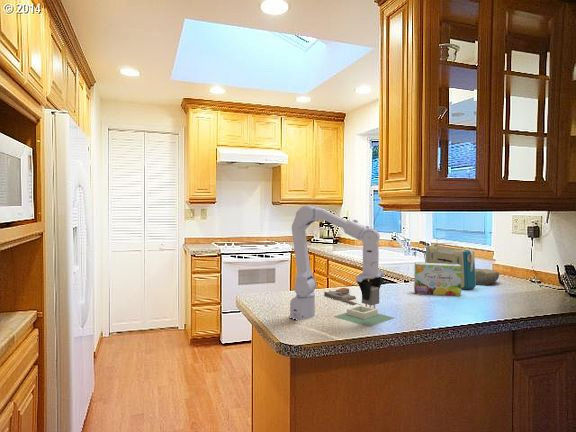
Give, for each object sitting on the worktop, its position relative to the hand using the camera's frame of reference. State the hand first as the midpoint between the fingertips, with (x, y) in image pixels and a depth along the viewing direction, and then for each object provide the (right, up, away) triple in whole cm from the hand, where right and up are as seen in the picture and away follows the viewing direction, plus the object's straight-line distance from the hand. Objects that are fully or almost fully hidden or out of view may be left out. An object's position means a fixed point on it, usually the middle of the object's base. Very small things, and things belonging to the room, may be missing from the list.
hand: (370, 298), depth 149 cm
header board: (-1, -10, +7) cm, 12 cm away
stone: (+79, -7, +75) cm, 109 cm away
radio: (+57, -7, +71) cm, 92 cm away
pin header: (+3, -8, +14) cm, 16 cm away
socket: (-1, -8, +10) cm, 13 cm away
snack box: (+43, -8, +49) cm, 66 cm away
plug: (0, -2, 0) cm, 2 cm away
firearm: (-1, -9, +39) cm, 40 cm away
